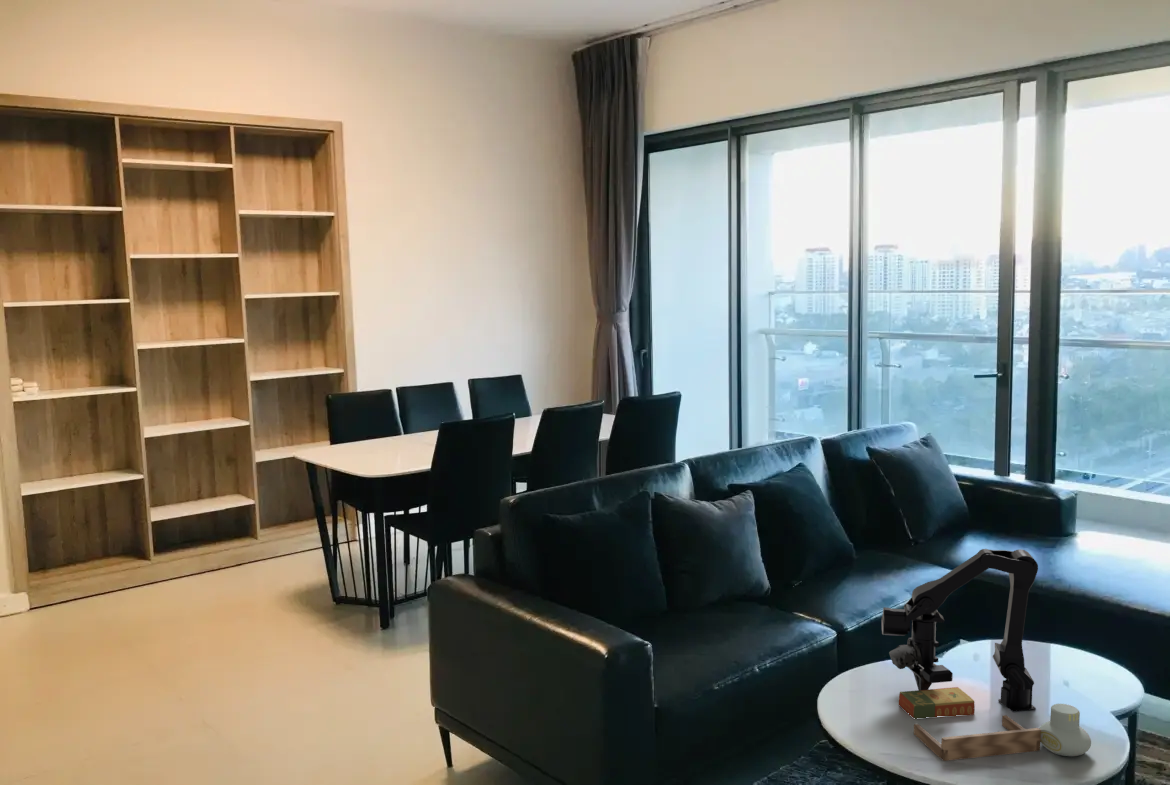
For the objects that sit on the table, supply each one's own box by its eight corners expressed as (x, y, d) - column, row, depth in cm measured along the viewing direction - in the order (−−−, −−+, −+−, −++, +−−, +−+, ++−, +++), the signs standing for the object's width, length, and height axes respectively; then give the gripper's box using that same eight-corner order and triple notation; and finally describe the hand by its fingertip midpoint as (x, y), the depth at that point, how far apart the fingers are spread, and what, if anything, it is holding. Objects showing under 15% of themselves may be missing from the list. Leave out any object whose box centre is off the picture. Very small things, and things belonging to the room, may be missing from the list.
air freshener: (1097, 758, 214) (1099, 715, 213) (1069, 765, 211) (1071, 721, 210) (1057, 736, 224) (1059, 696, 223) (1030, 743, 221) (1032, 702, 220)
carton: (974, 716, 236) (975, 700, 235) (913, 721, 234) (913, 704, 233) (957, 701, 244) (958, 685, 243) (898, 706, 242) (898, 690, 241)
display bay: (1005, 725, 230) (1006, 705, 230) (1040, 750, 217) (1041, 729, 217) (913, 734, 226) (914, 714, 226) (943, 760, 213) (943, 739, 213)
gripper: (877, 626, 252) (876, 682, 253) (912, 652, 233) (911, 713, 235) (916, 623, 253) (915, 679, 255) (954, 649, 235) (952, 709, 237)
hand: (922, 694), depth 245 cm, fingers closed
